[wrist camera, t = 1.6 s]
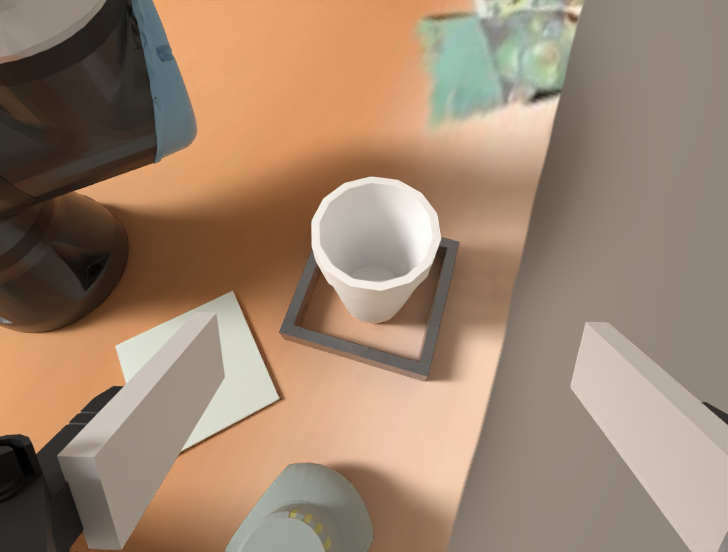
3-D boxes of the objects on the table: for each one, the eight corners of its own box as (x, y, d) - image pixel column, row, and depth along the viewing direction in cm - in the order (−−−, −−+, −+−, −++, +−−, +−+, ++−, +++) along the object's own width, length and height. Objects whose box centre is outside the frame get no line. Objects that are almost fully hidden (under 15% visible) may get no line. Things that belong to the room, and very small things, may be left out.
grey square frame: (284, 339, 39) (278, 332, 37) (330, 220, 44) (328, 208, 42) (424, 381, 37) (427, 376, 35) (454, 253, 42) (459, 241, 40)
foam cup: (399, 353, 38) (414, 310, 26) (312, 319, 40) (288, 263, 28) (430, 270, 42) (456, 198, 30) (349, 241, 43) (342, 162, 31)
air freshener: (309, 444, 35) (289, 442, 26) (386, 508, 33) (393, 531, 24) (222, 564, 32) (162, 610, 22) (301, 643, 30) (272, 731, 20)
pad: (117, 346, 39) (115, 345, 38) (233, 292, 41) (232, 290, 40) (152, 467, 34) (150, 467, 34) (280, 399, 37) (279, 398, 36)
